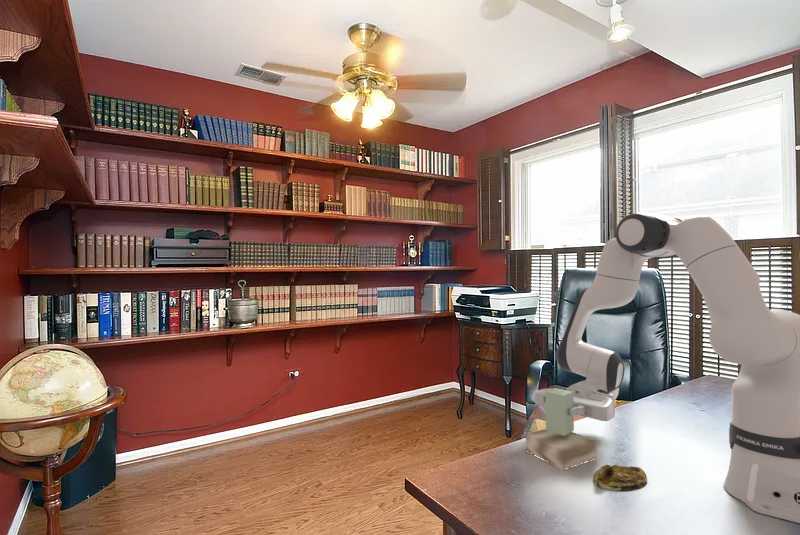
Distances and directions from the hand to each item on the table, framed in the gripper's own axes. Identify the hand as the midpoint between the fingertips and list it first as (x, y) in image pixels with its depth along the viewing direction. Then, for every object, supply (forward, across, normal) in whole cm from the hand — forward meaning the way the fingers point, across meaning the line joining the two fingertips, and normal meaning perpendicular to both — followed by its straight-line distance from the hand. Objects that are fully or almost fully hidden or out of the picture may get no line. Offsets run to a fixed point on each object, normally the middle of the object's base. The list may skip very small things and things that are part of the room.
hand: (557, 409), depth 109 cm
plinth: (-1, 0, +12) cm, 12 cm away
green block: (-1, 0, +6) cm, 6 cm away
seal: (+1, +15, +13) cm, 20 cm away
